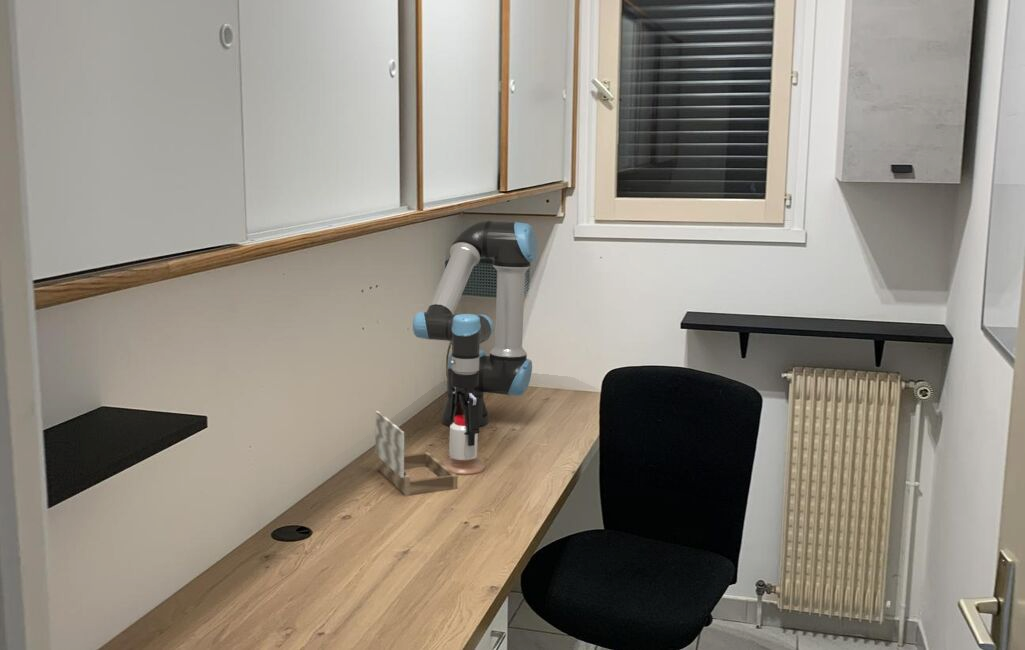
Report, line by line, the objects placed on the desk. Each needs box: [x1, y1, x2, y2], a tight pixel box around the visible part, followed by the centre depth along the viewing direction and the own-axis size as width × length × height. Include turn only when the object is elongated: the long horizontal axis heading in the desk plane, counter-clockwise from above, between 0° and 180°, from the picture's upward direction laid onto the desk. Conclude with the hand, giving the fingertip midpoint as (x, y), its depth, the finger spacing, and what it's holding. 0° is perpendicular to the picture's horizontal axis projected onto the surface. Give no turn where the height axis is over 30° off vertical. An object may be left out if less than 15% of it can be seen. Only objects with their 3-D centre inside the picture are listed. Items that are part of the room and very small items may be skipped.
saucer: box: [442, 458, 486, 476], centre depth 271 cm, size 12×12×1 cm
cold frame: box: [374, 410, 459, 497], centre depth 259 cm, size 20×16×17 cm
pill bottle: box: [448, 415, 479, 460], centre depth 269 cm, size 8×8×11 cm
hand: (463, 451), depth 270 cm, fingers closed on pill bottle, 8 cm apart
